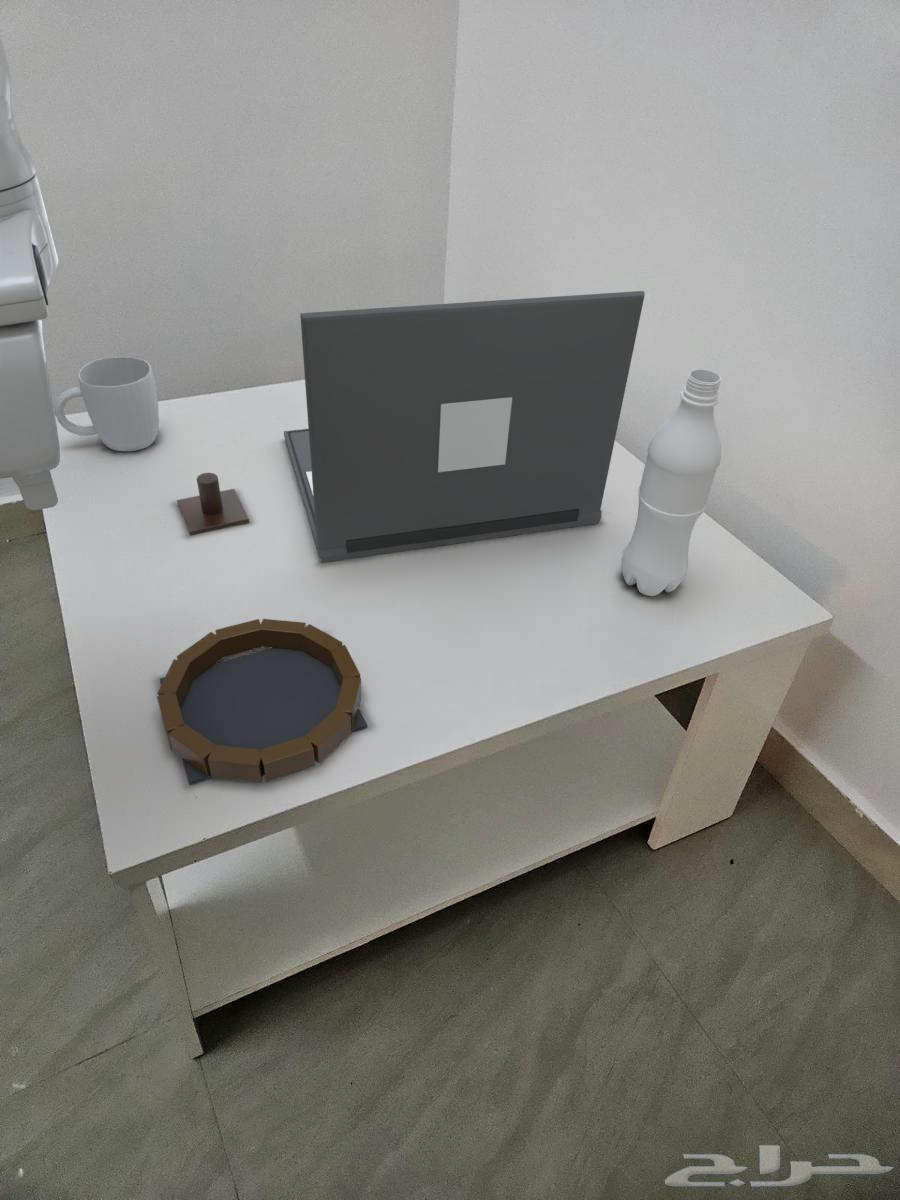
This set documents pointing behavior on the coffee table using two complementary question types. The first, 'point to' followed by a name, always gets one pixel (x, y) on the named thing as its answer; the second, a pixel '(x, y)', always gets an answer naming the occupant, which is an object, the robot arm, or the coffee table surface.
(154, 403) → the mug
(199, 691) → the mat
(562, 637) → the coffee table surface
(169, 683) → the hoop
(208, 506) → the stand
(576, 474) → the laptop
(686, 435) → the water bottle
